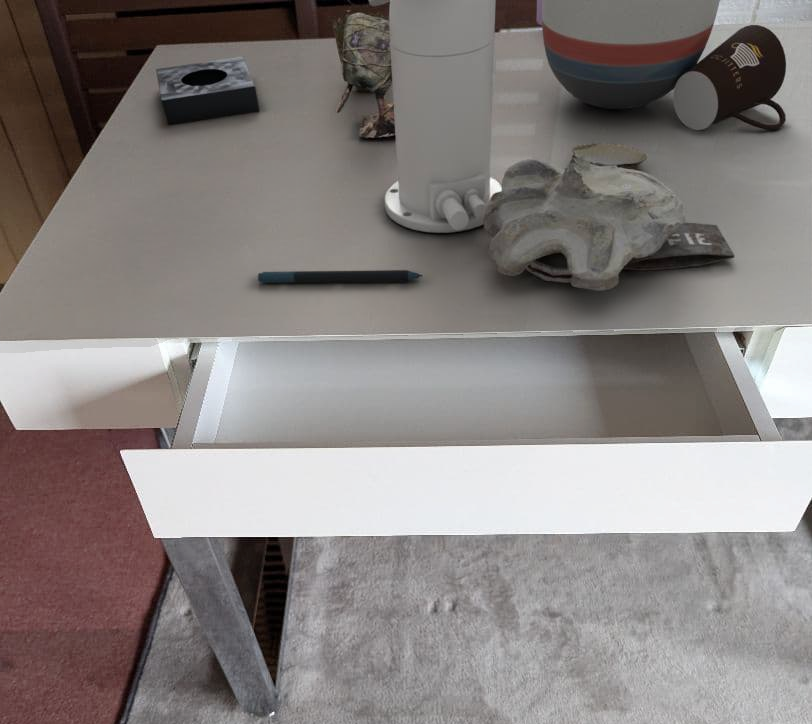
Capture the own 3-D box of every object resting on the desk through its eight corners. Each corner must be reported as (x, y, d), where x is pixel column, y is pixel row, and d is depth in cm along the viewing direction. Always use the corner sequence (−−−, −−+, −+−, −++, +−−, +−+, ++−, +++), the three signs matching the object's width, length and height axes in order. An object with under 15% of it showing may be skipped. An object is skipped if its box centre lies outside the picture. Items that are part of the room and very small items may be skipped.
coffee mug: (671, 50, 90) (731, 15, 93) (661, 125, 97) (717, 90, 100) (756, 83, 84) (818, 45, 87) (739, 160, 91) (796, 123, 94)
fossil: (710, 169, 72) (653, 144, 61) (684, 296, 76) (626, 295, 65) (537, 164, 82) (459, 141, 70) (522, 277, 85) (446, 273, 74)
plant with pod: (353, 112, 102) (335, -81, 87) (438, 118, 100) (433, -80, 85) (330, 138, 97) (306, -62, 82) (418, 145, 95) (410, -61, 80)
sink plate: (259, 110, 104) (255, 85, 102) (167, 125, 103) (161, 100, 101) (247, 79, 112) (243, 56, 110) (162, 92, 111) (155, 68, 108)
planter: (625, 148, 91) (660, -86, 75) (501, 101, 102) (508, -112, 86) (734, 97, 99) (787, -125, 83) (607, 59, 110) (633, -144, 94)
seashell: (645, 180, 90) (587, 147, 92) (658, 153, 87) (598, 120, 89) (613, 197, 84) (552, 161, 87) (626, 169, 82) (563, 133, 84)
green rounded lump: (397, 77, 110) (393, 10, 104) (391, 98, 105) (387, 28, 99) (343, 78, 111) (337, 12, 105) (335, 99, 106) (328, 30, 100)
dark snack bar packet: (737, 272, 73) (742, 252, 71) (528, 290, 73) (529, 271, 72) (712, 229, 78) (716, 209, 76) (516, 246, 78) (517, 227, 77)
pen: (423, 280, 75) (423, 268, 75) (422, 282, 74) (422, 271, 74) (260, 281, 76) (259, 270, 76) (258, 284, 76) (256, 273, 75)
